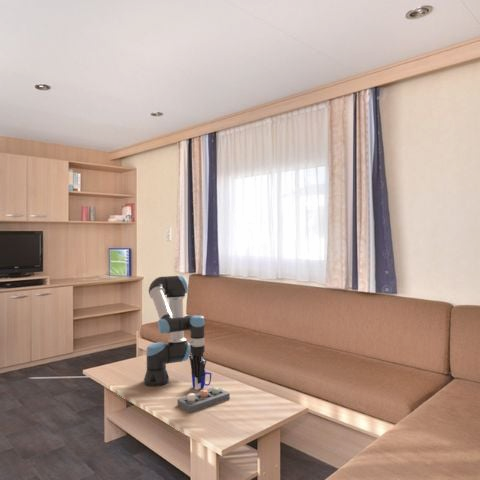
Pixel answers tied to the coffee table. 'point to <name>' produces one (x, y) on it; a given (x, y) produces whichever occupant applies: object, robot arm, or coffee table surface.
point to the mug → (201, 380)
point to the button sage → (215, 390)
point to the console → (203, 401)
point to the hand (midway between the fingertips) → (197, 388)
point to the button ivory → (191, 397)
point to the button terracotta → (203, 393)
